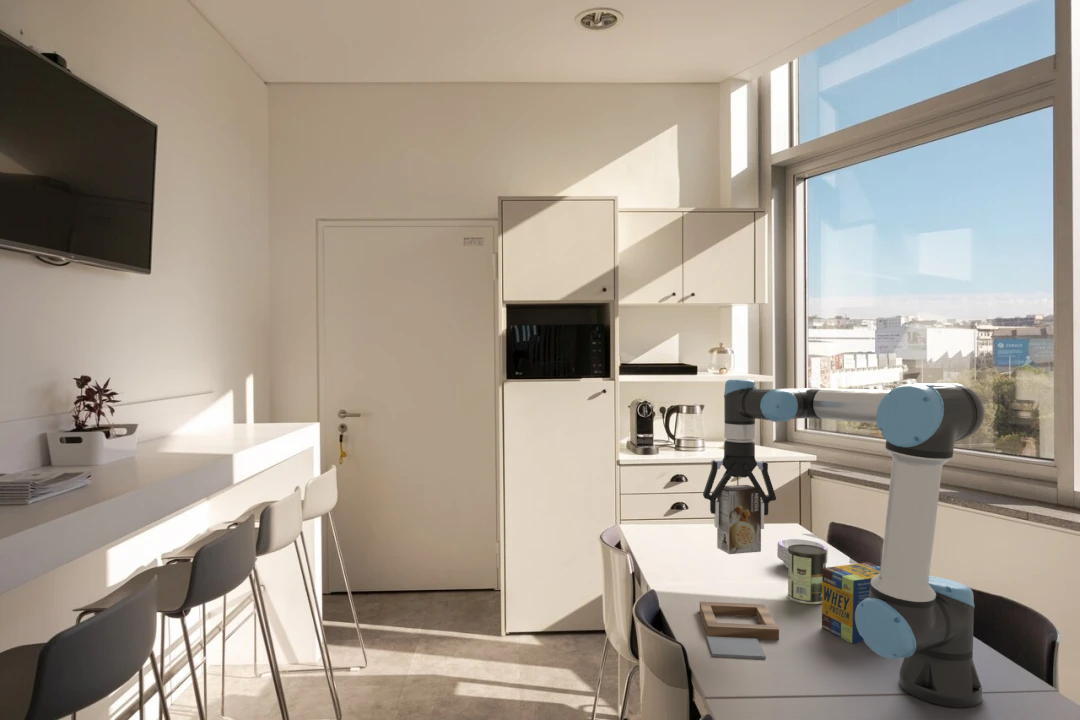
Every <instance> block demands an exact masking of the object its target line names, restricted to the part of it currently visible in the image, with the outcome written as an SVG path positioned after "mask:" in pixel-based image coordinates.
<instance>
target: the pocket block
mask: <svg viewBox="0 0 1080 720" xmlns="http://www.w3.org/2000/svg"><path fill="white" fill-rule="evenodd" d="M699 613H700V616H701V619H702V623H703V625H704V628H705V631H706V634H707V636H713V637H735V638H756V639H760V640H780V628H779V627H778V625H777V623H776V621H774V619H773V617H772V615H771V614H770V612H769V610H768V608H767V606H766V605H765V603H746V602H745V603H744V602H743V603H741V602H721V601H720V602H719V601H718V602H716V601H699ZM715 616H729V617H730V616H735V617H753V616H754V618H755V616H756V619H757V620H758V622H759V624H754V623H735V622H734V623H732V622H731V623H729V622H717V620H716V617H715Z"/></svg>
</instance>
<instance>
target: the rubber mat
mask: <svg viewBox="0 0 1080 720" xmlns="http://www.w3.org/2000/svg"><path fill="white" fill-rule="evenodd" d="M706 641H707V643H708V647H709V649H710V650H709V651H710V654H711V656H712V657H719V658H720V657H721V658H738V659H755V660H756V659H759V660H760V659H761V660H766V659H767V655H766V654H765V652H764V650H763V648H762V645H761V643H760V642H759V640H758V639H756V638H735V637H713V636H708V635H707V636H706Z"/></svg>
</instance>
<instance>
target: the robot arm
mask: <svg viewBox="0 0 1080 720" xmlns="http://www.w3.org/2000/svg"><path fill="white" fill-rule="evenodd" d="M723 398H724V401H723V402H724V408H723V409H724V410H723V411H724V416H723V417H724V427H723V429H724V430H723V433H724V434H723V437H724V438H725V441H724V442H723V459H722V460H715V459H712V460H711V462H710V463H711V464H710V465H711V467H710V468H711V469H710V472H709V475H708V478H707V480H706V484H705V487H704V489H703V492H702V496H703V498H704V499H706V500H708V501H709V511H710V513H711V514H712V515H713V514H714V515H713V517H714V518H713V520H714V523H713V524H714V527H715V528H716V529H717V528H719V502H718V500H717V498H718V496H719V494H720V493H721V491H722V488H724V487H725V486H727V484H728V482H729V481H730V480H731V478H732V477H733V478H739V477H741V478H748V479H749V480H750V482H751V484H752V486H753V487H755V488H756V489H761V530H765V516H768V515H769V504H770V502H772V501H776V500H777V496H776V494H775V489H774V487H773V483H772V480H771V477H770V475H769V472H768V471H769V464H768V462H766V461H765V460H762V461H759V460H756V457H755V456H756V451H755V450H756V443H755V441H754V440H755V439H756V419H758V420H762V421H771V422H773V423H774V422H775V423H777V422H780V423H782V422H789V421H790V420H797V419H812V420H813V419H814V420H827V421H828V420H829V421H830V420H831V421H840V422H841V421H843V422H854V423H855V422H856V423H867V424H868V423H869V424H870V423H871V424H876V426H877V428H878V429H877V430H880V432H881V433H880V434H881V436H882V437H883V438H884V440H885V447H884V448H885V450H886V451H887V453H888V454H889V455H890V456H891V458H892V462H891V463H892V464H891V471H890V478H889V479H890V482H889V490H888V491H889V492H888V498H887V499H888V501H887V508H886V517H885V526H884V536H883V542H882V543H883V544H882V552H881V554H882V555H881V562H880V567H881V570H880V574H878V575H876V576H875V577H873V578H872V579H871V583H870V592H869V598H866V599H864V600H863V601H862V602H860V603H859V604H858V606H857V608H856V611H855V623H856V627H857V629H858V632H859V634H860V636H862V637H863V639H864V641H863V642H864V643H865V645H866V646H867V647H869V649H870V650H871V651H873V652H874V653H876V654H877V655H879V656H880V657H883V658H885V659H890V660H897V659H901V658H903V661H902V664H901V666H900V668H899V672H898V683H899V685H900V688H902V690H904V691H905V692H906V693H908V694H910V695H912V697H914V698H917V699H920V700H922V701H925V702H927V703H931V704H935V705H937V706H942V707H950V708H971V707H975V706H977V705H979V704H980V703H982V700H983V687H982V684H981V680H980V678H979V674H978V671H977V668H976V665H975V662H974V658H973V657H974V656H973V654H974V653H973V652H974V651H973V650H974V623H975V621H974V619H975V617H974V616H975V613H974V612H975V607H976V606H975V603H974V601H975V600H974V592H973V590H972V589H971V588H970V587H969V586H968V585H966V584H964V583H961V582H958V581H956V580H952V579H948V578H944V577H940V576H934V575H930V574H931V564H932V556H933V547H934V538H935V531H936V530H935V529H936V523H937V512H938V508H939V507H938V505H939V497H940V489H941V488H940V487H941V480H942V471H943V466H944V464H947V463H948V462H950V461H951V460H952V459H953V458H954V449H955V442H960V441H963V440H965V439H968V438H970V437H972V436H973V435H975V434H976V433H977V432H978V431H979V429H980V428H981V427H982V425H983V423H984V419H985V407H984V404H983V401H982V399H981V398H980V397H979V395H978V394H977V393H976V391H974V390H972V389H971V388H970V387H968V386H966V385H963V384H961V383H954V382H938V383H937V382H936V383H933V382H932V383H931V382H930V383H929V382H928V383H927V382H926V383H921V382H920V383H917V382H916V383H915V382H914V383H909V384H904V385H899V386H896V387H895V388H892V389H890V390H889V389H860V388H859V389H855V388H853V389H852V388H851V389H850V388H848V389H847V388H822V387H802V388H801V387H799V388H757V386H756V381H754V380H753V379H744V378H743V379H741V378H738V379H728V380H726V382H725V383H724V393H723ZM721 466H722V467H723V468H724V469H725V472H724V473H723V475H722V477H721V479H720V481H719V482H718V483H717V485H716V487H715V488H714V490H713V491H712V488H713V486H714V483H715V479H716V476H717V474H718V470H720V469H721ZM756 467H757V468H758V469H759V470H760V472H761V476H762V479H763V481H764V484H765V489H766V491H767V494H768V495H766V493H765V491H764V490H763V488H762V486H761V485H760V483H759V482H758V481H757V478H756V476H755V474H753V471H754V470H755V468H756ZM711 491H712V493H711Z"/></svg>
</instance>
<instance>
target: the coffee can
mask: <svg viewBox="0 0 1080 720" xmlns="http://www.w3.org/2000/svg"><path fill="white" fill-rule="evenodd" d="M826 553H827V551H826V550H825V549H823V548H821V547H818V546H813V545H804V544H797V545H791V546H789V547H788V568H787V571H788V575H787V597H788V599H789V600H792V601H793V602H796V603H799V604H805V605H820V604H821V605H822V574H823V568H827V563H826Z"/></svg>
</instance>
